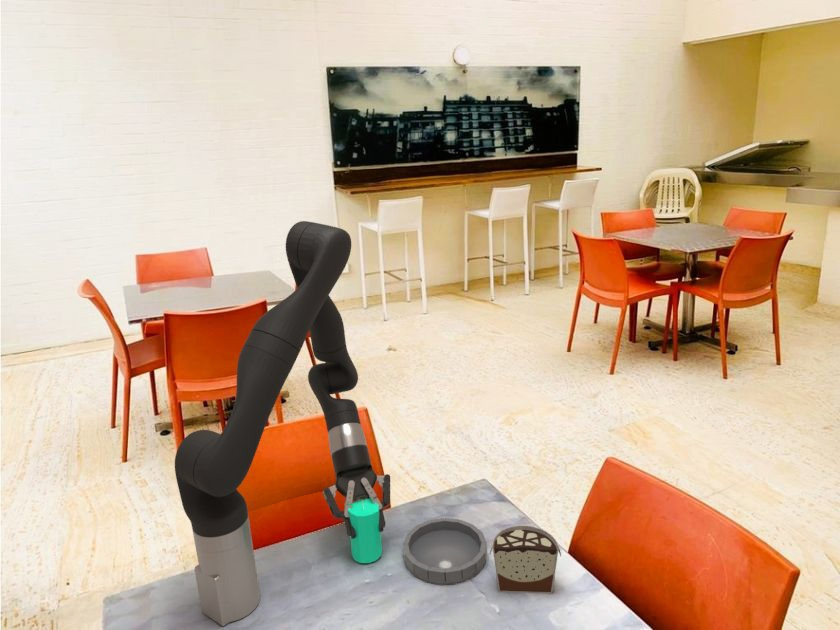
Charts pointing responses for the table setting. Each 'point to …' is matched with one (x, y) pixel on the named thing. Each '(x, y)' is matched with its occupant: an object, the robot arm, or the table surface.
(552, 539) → the food container
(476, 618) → the table surface
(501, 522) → the table surface
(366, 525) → the candle
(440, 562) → the plate
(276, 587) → the table surface
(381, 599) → the table surface
